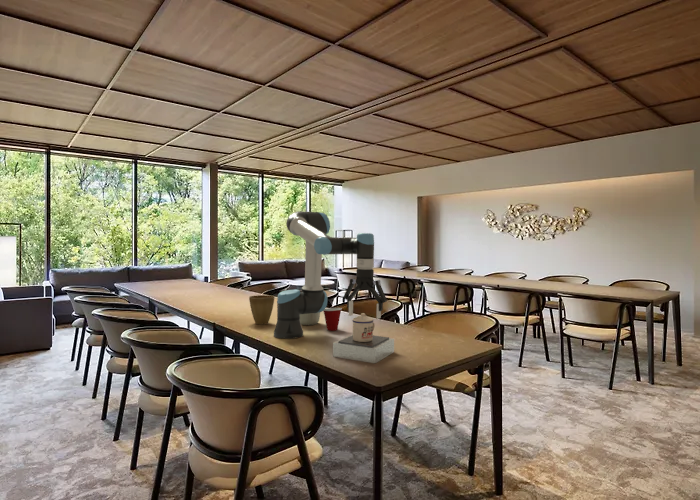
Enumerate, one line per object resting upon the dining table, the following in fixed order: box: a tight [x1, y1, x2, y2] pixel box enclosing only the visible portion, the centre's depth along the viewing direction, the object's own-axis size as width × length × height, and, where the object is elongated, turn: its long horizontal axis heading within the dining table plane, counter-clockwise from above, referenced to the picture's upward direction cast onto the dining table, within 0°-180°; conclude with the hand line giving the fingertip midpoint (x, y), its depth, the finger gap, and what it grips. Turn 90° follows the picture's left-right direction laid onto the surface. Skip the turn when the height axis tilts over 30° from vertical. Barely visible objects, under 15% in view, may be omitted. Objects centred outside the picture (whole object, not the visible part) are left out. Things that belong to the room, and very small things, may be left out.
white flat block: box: [332, 334, 395, 364], centre depth 189 cm, size 20×25×7 cm
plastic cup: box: [322, 307, 343, 332], centre depth 236 cm, size 11×11×12 cm
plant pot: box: [248, 294, 275, 325], centre depth 252 cm, size 15×15×16 cm
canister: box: [300, 312, 321, 326], centre depth 252 cm, size 18×18×21 cm
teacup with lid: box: [351, 312, 375, 342], centre depth 186 cm, size 12×9×12 cm
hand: (364, 316), depth 186 cm, fingers open, 13 cm apart
